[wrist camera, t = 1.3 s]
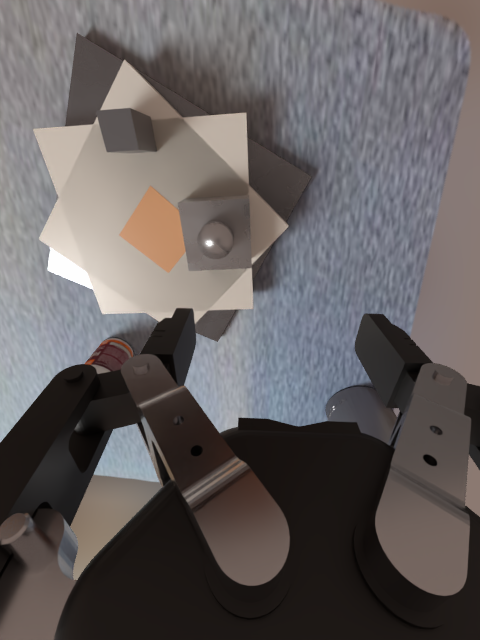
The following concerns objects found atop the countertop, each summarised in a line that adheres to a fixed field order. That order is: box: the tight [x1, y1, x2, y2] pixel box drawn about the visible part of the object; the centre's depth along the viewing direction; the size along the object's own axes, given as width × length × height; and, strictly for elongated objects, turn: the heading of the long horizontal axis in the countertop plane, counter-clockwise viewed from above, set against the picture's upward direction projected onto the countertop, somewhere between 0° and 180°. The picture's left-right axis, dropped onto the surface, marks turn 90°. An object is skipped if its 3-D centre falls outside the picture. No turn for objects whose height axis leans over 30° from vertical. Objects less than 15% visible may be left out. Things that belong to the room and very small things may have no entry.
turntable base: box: [48, 33, 312, 342], centre depth 29 cm, size 22×22×1 cm
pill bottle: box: [85, 338, 133, 374], centre depth 35 cm, size 5×5×8 cm
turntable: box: [33, 60, 288, 323], centre depth 25 cm, size 26×26×6 cm
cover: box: [178, 195, 252, 271], centre depth 24 cm, size 6×6×4 cm
